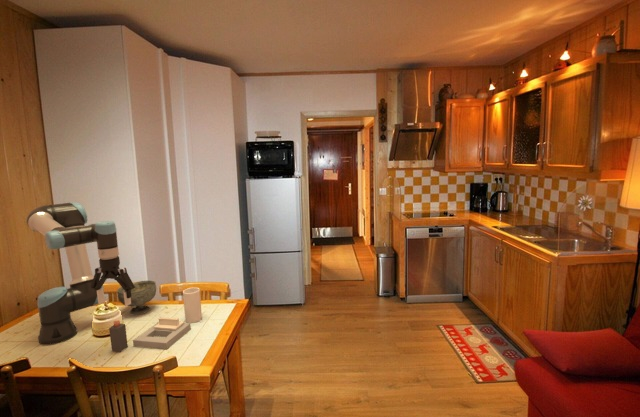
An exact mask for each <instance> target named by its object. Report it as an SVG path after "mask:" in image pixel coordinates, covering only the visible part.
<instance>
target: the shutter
mask: <svg viewBox="0 0 640 417" xmlns="http://www.w3.org/2000/svg"><path fill="white" fill-rule="evenodd" d="M158 322H159V324H157V323H156V324H157V325H156V326H154V325H153V326H154V329H164V330H176V329H178V328H179V327H180V326H181V325H183V324H184V323H185V321H180V319H179V318H177V317H164V316H163V317H162V316H160V317H159V318H158Z"/></svg>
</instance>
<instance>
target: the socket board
mask: <svg viewBox="0 0 640 417" xmlns="http://www.w3.org/2000/svg"><path fill="white" fill-rule="evenodd" d="M157 324H159V321H158V322H157V323H155V324H154V325H152V326H151V327H150V328H148V329H146V330H145V331H144V332H143V333H141V334H140V335H138V336H136V337H135V338H134V339H132V345H133V347H135V348H136V347H137V348H148V349H156V350H157V349H159V350H168V349H169V348H171V347H172V346H173V345H174V344H175V343H176V342H177V341H178V340H180V339H181V338H183V337H184V335H186V334H187V333H189V331H191V329H192V328H191V326H192V325H191V323H187V322H184V324H183V325H181V326H180V327H179V328H178V329H176V330H164V329H154V326H156V325H157Z"/></svg>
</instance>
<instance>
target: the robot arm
mask: <svg viewBox="0 0 640 417" xmlns="http://www.w3.org/2000/svg"><path fill="white" fill-rule="evenodd" d="M87 223H88V215H87V211H86V209H85V208H84V206H83V205H82V204H81V203H80V202H67V203H66V202H64V203H56V204H49V205H48V204H45V205H41V206H37V207H36V208H34V209H33V210H31V211H30V212H29V213H28V215H27V217H26V224H27V226H28V227H29V229H31V230H32V231H35V232H37V233H38V232H39V233H40V234H41V235H42V236H44V242H45V244H46V247H47V249H49V250H59V249H65V252H66V258H67V262H68V266H69V272H70V275H71V282H70V283H69V288H68V287H66V286H59V287H58V286H57V287H53V288H51V289H47V290H46V291H44V292H42V293H40V294H39V295H38V296H37V308H38V315H39V321H40V327H39V328H40V329H39V333H38V337H37V341H38V343H39V345H42V346H50V345H55V344H60V343H62V342H65V341H68V340H70V339H72V338H74V337H75V336H76V335H77V334H78V328H77V326H76V325H75V323H74V321H73V319H72V317H71V316H72V315H71V313H73V312H77V311H80V310H83V309H87V308H91V307H94V306H97V305H99V306H100V305H103V304H104V303H106V302H105V294H104V293H105V292H104V291H105V288H104V284H105V282H106V281H107V280H108V279H110V280H114V281H116V282H117V283H118V284H119V286H120V287H122V288H123V289H124V290H125V291H124V300H125V305H124V306H125V307H129V306H128V305H130V304H131V298H130V297H131V290H132V289H134V288H135V286H134V284H133V283H134V282H133V280H132V278H131V276H130V275H129V274H128V271H127V268H126V267H122V268H120V265H121V264H120V263H121V261H120V260H121V258H120V256H119V255H120V252H119V245H118V235H117V234H118V233H117V227H116V223H115V221H112V220H103V221H99V222H96V223H91V224H88V225H85V224H87ZM90 243H96V247H97V254H98V255H97V256H98V258H99V260H98V262H99V267H95V269H94V275H93V272H92V269H91V263H90V259H89V255H88V252H87V246H86V245H87V244H90Z"/></svg>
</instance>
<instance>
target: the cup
mask: <svg viewBox="0 0 640 417" xmlns="http://www.w3.org/2000/svg"><path fill="white" fill-rule="evenodd" d="M182 297H183V309H184V322H185V323H190V324H195V323H198V322H200V321H202V319H203V314H202V300H201V291H200V288H199V287H188V288H186V289H183V291H182ZM194 322H195V323H194Z"/></svg>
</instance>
